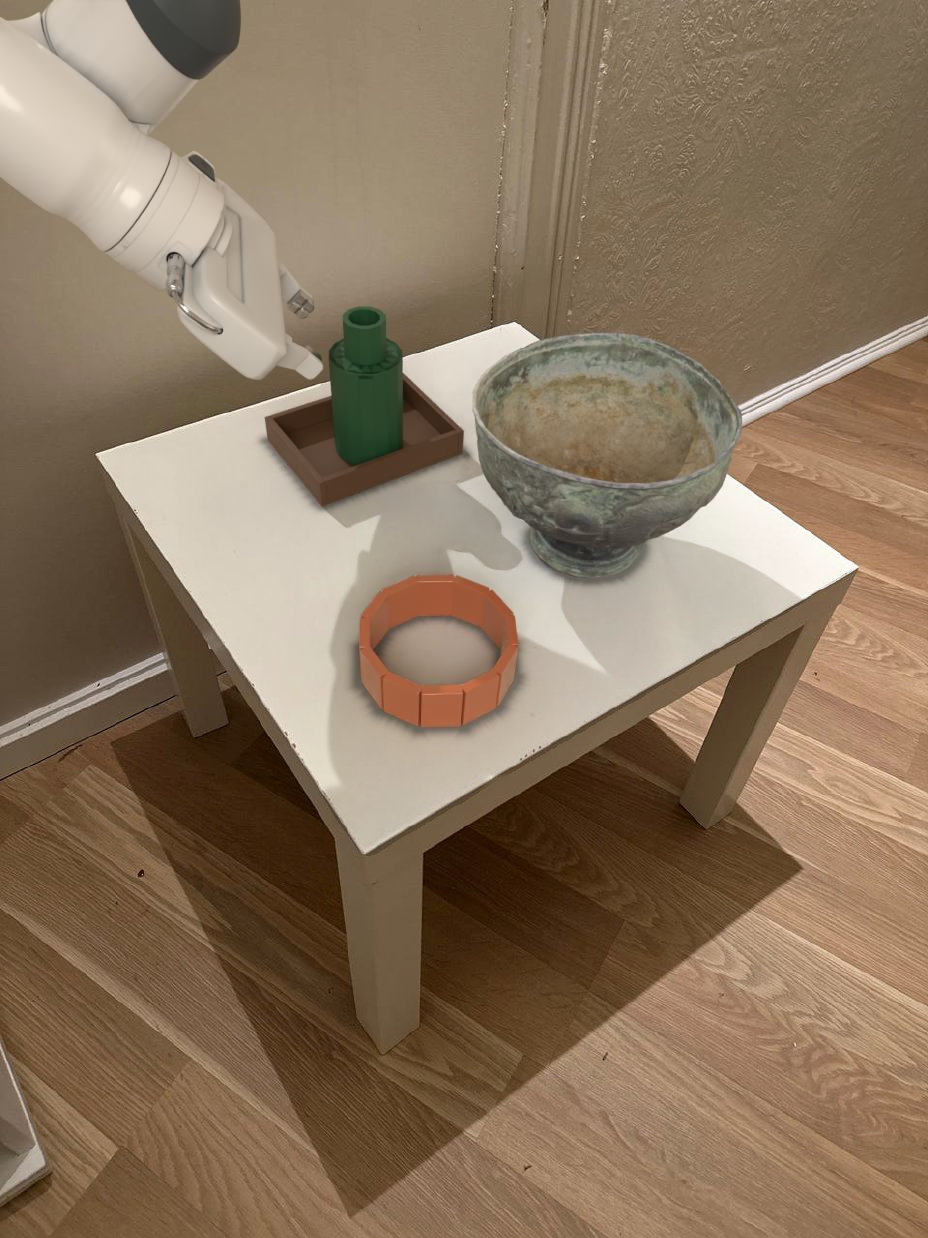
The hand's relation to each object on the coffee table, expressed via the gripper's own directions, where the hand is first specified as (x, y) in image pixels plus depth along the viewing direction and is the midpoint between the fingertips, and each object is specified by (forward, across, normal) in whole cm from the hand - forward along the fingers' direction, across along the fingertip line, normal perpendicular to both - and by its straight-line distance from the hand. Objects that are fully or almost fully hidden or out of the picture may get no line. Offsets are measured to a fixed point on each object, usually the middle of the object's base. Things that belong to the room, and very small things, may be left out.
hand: (313, 338), depth 75 cm
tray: (+12, +1, +6) cm, 13 cm away
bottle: (+12, 0, +5) cm, 13 cm away
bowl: (+24, -15, -6) cm, 29 cm away
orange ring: (+14, -26, +4) cm, 30 cm away
